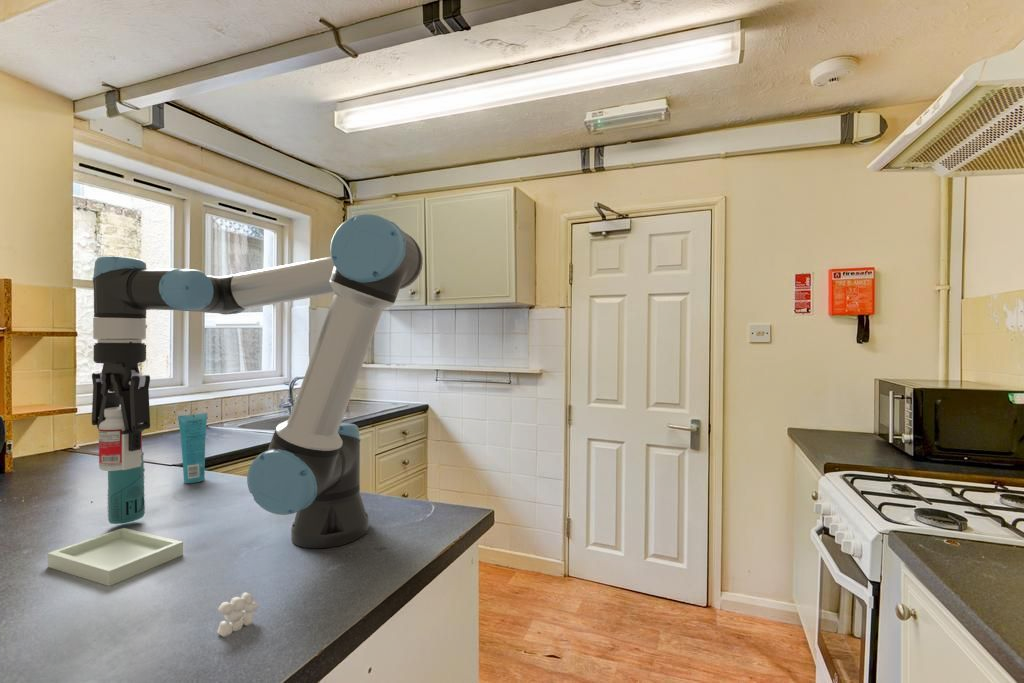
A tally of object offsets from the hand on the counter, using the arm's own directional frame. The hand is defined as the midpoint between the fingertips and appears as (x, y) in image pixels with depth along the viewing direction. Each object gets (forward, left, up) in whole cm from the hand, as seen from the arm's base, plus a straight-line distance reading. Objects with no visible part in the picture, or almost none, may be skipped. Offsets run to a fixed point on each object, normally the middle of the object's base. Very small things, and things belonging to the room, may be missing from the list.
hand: (120, 465), depth 88 cm
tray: (0, +1, -17) cm, 17 cm away
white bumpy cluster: (-39, +7, -18) cm, 44 cm away
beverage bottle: (+17, -10, -18) cm, 26 cm away
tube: (+35, -37, -18) cm, 54 cm away
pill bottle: (0, 0, -1) cm, 1 cm away
